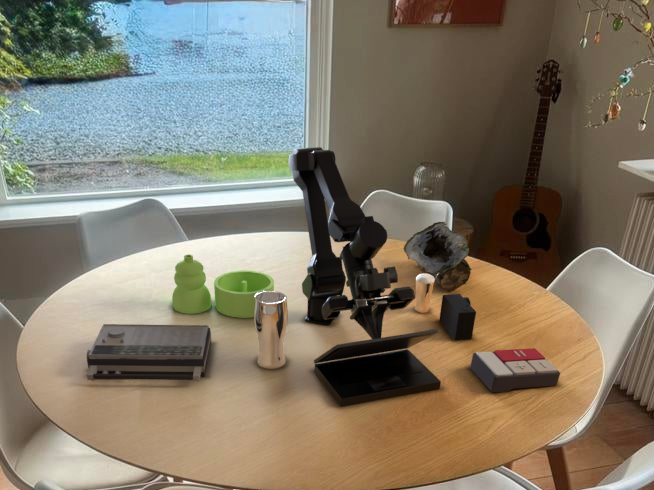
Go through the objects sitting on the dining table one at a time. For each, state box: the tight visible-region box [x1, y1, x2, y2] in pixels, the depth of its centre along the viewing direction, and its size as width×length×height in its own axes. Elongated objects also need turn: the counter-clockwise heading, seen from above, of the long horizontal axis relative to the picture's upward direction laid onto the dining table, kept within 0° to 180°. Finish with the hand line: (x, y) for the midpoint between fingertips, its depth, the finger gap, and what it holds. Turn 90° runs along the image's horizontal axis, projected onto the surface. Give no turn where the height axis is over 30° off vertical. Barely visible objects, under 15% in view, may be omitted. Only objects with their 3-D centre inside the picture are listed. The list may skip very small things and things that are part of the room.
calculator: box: [469, 347, 561, 393], centre depth 153 cm, size 11×4×15 cm
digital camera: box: [438, 293, 477, 341], centre depth 170 cm, size 10×5×7 cm, turn 12°
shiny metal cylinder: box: [414, 273, 439, 314], centre depth 178 cm, size 5×5×10 cm
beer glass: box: [253, 290, 289, 370], centre depth 153 cm, size 7×7×15 cm
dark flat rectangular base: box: [313, 348, 442, 408], centre depth 151 cm, size 15×22×2 cm
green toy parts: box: [171, 254, 275, 319], centre depth 177 cm, size 25×14×13 cm, turn 93°
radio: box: [86, 323, 212, 382], centre depth 155 cm, size 24×5×20 cm
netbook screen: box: [313, 328, 440, 364], centre depth 149 cm, size 15×22×1 cm
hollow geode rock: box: [403, 221, 473, 293], centre depth 194 cm, size 28×13×15 cm
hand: (378, 342), depth 147 cm, fingers closed, pressing on netbook screen
